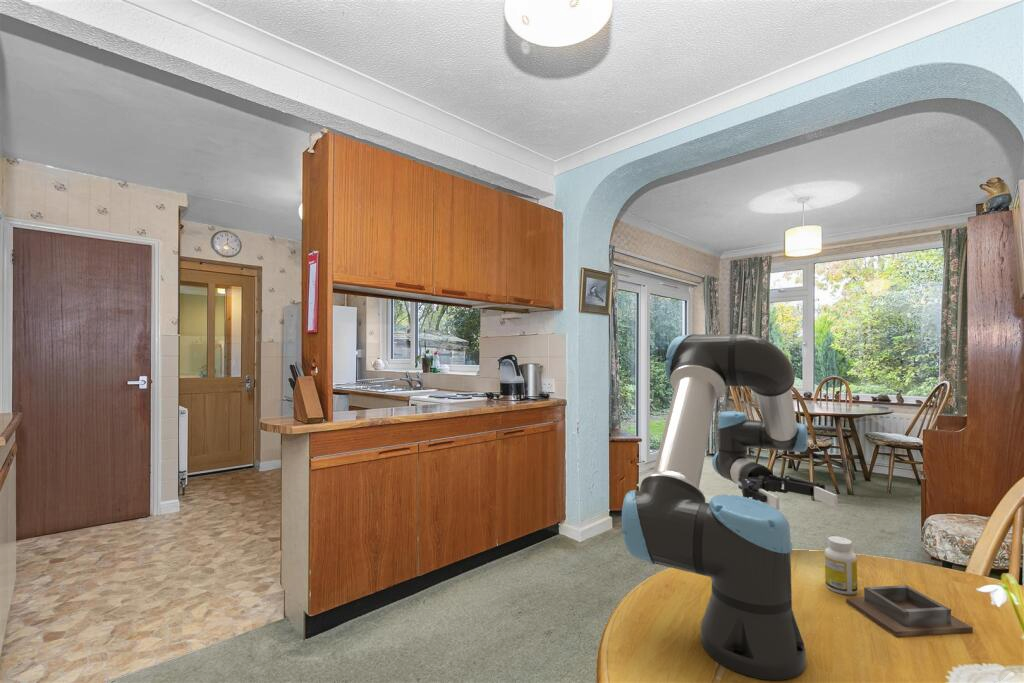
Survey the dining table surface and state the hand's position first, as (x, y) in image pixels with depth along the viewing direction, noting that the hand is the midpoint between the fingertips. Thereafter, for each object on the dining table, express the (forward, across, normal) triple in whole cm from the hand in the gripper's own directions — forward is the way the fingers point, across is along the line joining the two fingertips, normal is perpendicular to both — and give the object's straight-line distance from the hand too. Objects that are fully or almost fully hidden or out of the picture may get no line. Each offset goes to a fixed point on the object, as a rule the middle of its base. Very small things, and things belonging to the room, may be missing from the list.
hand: (807, 502), depth 108 cm
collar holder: (+21, -4, -14) cm, 25 cm away
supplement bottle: (+10, 0, -14) cm, 17 cm away
